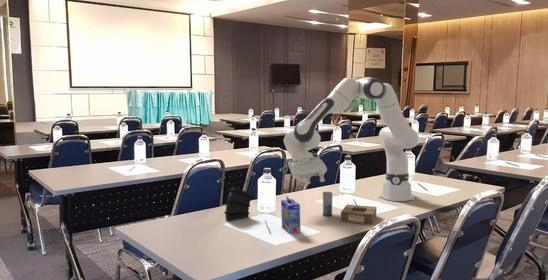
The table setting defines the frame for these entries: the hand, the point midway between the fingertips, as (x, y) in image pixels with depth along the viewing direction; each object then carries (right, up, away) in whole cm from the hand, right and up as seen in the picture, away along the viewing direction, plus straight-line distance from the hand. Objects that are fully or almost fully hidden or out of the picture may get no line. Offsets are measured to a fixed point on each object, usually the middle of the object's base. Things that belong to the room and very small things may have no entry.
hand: (316, 182), depth 219 cm
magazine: (-37, -16, -8) cm, 41 cm away
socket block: (+19, -16, -11) cm, 27 cm away
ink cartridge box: (-13, -18, -26) cm, 34 cm away
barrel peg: (+5, -15, -5) cm, 17 cm away
